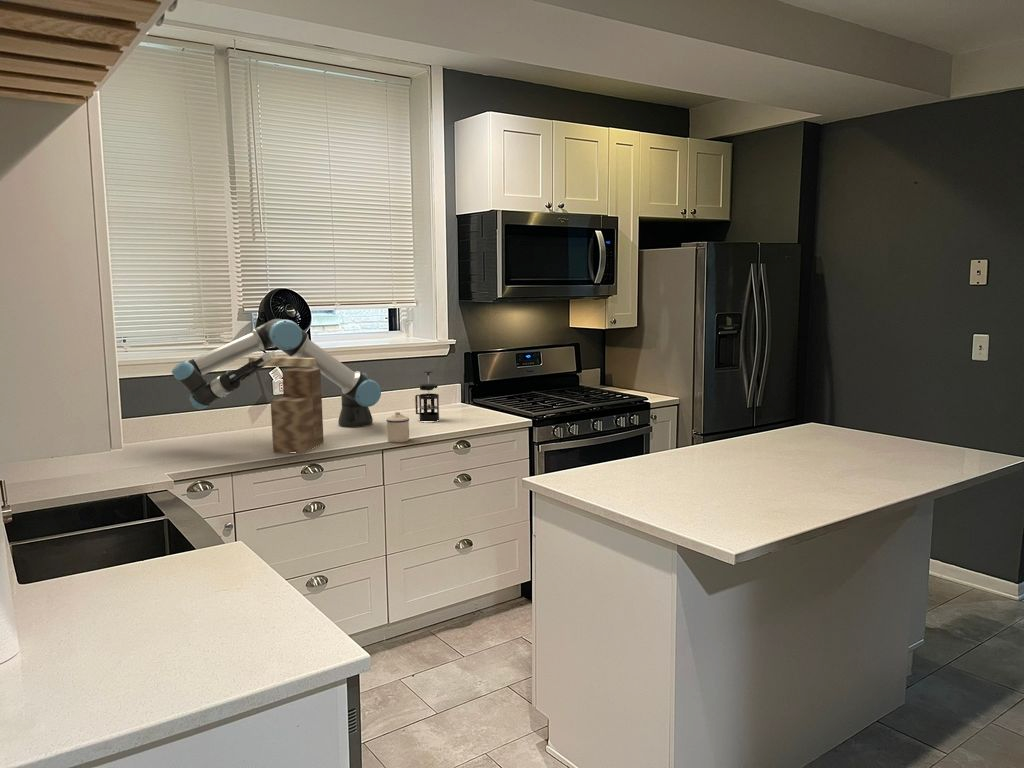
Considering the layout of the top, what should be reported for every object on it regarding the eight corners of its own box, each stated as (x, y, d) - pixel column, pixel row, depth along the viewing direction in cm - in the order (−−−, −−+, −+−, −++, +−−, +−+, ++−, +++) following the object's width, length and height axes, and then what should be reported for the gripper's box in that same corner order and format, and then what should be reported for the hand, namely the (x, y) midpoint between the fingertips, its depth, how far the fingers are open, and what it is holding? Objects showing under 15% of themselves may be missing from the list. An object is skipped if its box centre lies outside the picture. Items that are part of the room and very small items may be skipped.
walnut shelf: (273, 452, 284) (269, 374, 280) (295, 442, 301) (292, 368, 297) (302, 453, 282) (298, 374, 277) (323, 443, 299) (320, 368, 295)
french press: (444, 419, 347) (443, 370, 344) (436, 423, 338) (435, 372, 335) (420, 418, 351) (419, 369, 347) (412, 422, 342) (411, 371, 338)
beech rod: (248, 365, 285) (248, 357, 284) (253, 364, 287) (252, 356, 287) (312, 366, 280) (312, 358, 279) (316, 365, 282) (315, 357, 282)
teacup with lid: (414, 440, 304) (413, 412, 302) (395, 443, 297) (394, 414, 296) (397, 435, 312) (396, 408, 310) (378, 439, 306) (377, 411, 304)
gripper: (242, 389, 297) (288, 360, 292) (218, 395, 281) (267, 365, 276) (232, 372, 297) (278, 343, 291) (208, 378, 281) (256, 347, 276)
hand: (272, 354), depth 284 cm, fingers closed on beech rod, 3 cm apart
